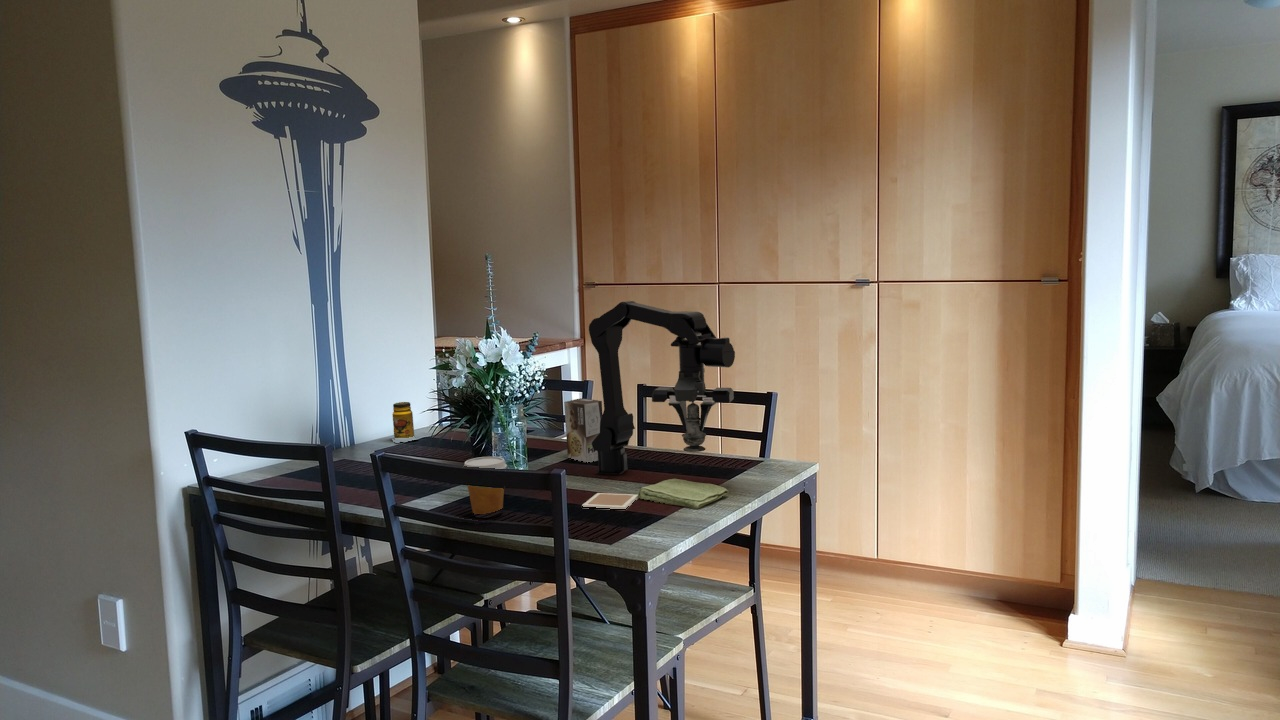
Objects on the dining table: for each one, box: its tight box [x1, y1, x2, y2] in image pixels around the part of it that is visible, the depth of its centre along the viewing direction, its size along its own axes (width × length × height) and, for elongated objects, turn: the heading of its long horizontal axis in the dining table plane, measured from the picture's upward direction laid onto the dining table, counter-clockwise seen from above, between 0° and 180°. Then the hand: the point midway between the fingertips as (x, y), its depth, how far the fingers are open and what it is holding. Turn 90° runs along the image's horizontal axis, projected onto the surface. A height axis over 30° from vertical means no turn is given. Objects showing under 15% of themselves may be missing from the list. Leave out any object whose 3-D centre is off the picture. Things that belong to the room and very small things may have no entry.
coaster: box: [581, 492, 640, 510], centre depth 204 cm, size 10×10×1 cm
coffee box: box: [563, 398, 603, 464], centre depth 247 cm, size 9×6×16 cm
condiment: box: [392, 401, 415, 439], centre depth 283 cm, size 7×8×12 cm
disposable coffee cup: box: [463, 456, 508, 514], centre depth 198 cm, size 10×10×12 cm
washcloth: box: [637, 478, 730, 510], centre depth 205 cm, size 13×18×3 cm
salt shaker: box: [681, 401, 707, 453], centre depth 215 cm, size 6×6×12 cm
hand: (693, 430), depth 215 cm, fingers closed on salt shaker, 3 cm apart
